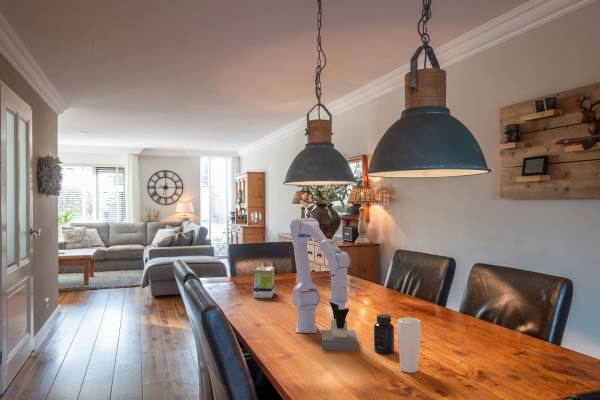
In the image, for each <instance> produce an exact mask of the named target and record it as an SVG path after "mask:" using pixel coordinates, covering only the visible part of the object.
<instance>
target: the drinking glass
mask: <svg viewBox="0 0 600 400" xmlns="http://www.w3.org/2000/svg"><path fill="white" fill-rule="evenodd" d="M421 325H422V324H421V320H420V319H418V318H415V317H400V318H398V319H397V341H398V355H399V356H398V357H399V369H400V371H402V372H404V373H406V374H413V373H414V374H415V373H417V372H418V371H419V357H420V348H421V335H422V334H421V333H422V329H421V327H422V326H421Z"/></svg>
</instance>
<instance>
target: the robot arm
mask: <svg viewBox="0 0 600 400" xmlns="http://www.w3.org/2000/svg"><path fill="white" fill-rule="evenodd" d="M289 228H290V237H291V240H292V241H293V249H294V258H295V264H296V265H295V266H296V272H297V282H298V283H297V285H295V286H294V287H293V289H292V292H293V293H292V302H293V305H294V307H295V309H297V313H296V316H297V317H296V318H297V321H296V322H297V324H296V329H295V333H296V334H300V333H301V334H304V333H305V334H310V333H311V334H316V333H317V331H318V328H317V327H318V326H317V325H316V324H317V323H316V322H317V320H316V319H317V315H316V314H317V313H316V312H317V308H318V306H319V305H320V303H321V294H320V292H319V287H318V285H316V284H315V283H314V282H312V274H311V267H310V266H311V265H310V260H309V259H310V257H309V253H308V252H309V251H308V241H309V240H311V239H312V238H313V239H314V241H315V242H316V243H317V244H318V245H319V251H320V252H321V253H322V255H323V256H324V257H325V258H326V259H327V266H328V268H329V274H330V279H331V280H330V298H327V302H329V305H330V307H331V310H332V315H333V319H336V324H337V328H338V329H340V328H344V324H345V320H346V318H347V316H348V314H349V312H350V309H349V307H345V306H346V304H347V303H348V302H349V301H348V300H349V299H348V268H349V267H351V264H352V259H351V256H350V254H349V253H348V252H347V251H343V250H341V248H340V247H339V246H337V244H336V243H335V240H333V239H330V238H327V237H326V236H325V234H324V233H323V231H322V229H321V228H320V222H319V221H318V219H316V218H315V217H310V218H305V217H304V218H303V217H301V218H298V217H295V218H293V219H292V221H291V223H290V225H289Z"/></svg>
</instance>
